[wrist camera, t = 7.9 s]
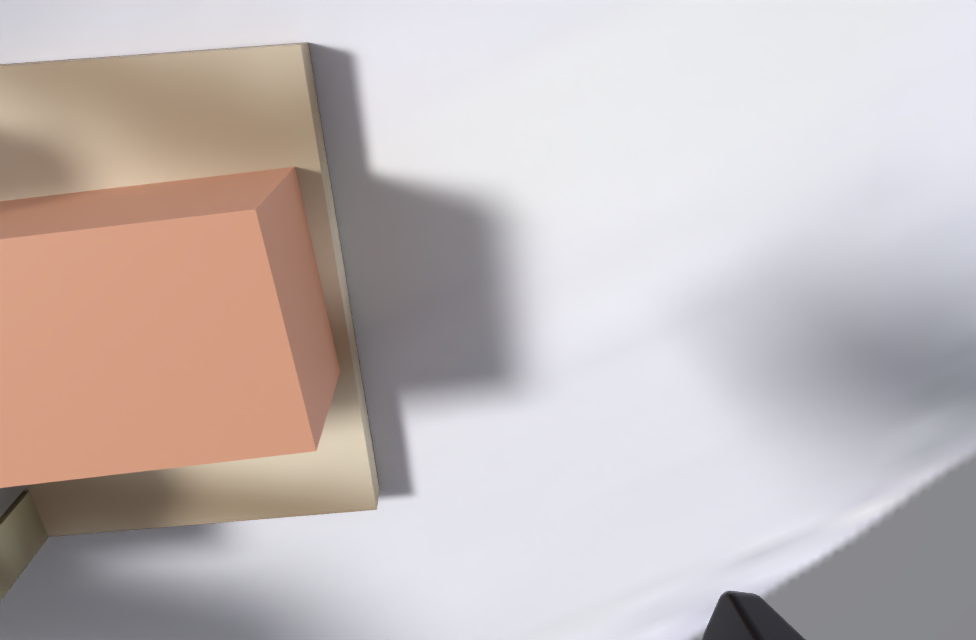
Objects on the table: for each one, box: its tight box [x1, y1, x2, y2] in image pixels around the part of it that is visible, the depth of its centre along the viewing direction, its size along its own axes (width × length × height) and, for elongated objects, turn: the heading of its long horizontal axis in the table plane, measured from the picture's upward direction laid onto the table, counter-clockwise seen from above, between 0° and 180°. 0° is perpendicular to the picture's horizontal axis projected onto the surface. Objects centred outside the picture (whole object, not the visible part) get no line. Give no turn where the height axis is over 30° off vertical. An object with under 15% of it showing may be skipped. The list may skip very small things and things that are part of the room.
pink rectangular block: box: [0, 167, 340, 488], centre depth 18 cm, size 6×9×4 cm, turn 96°
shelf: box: [0, 42, 379, 601], centre depth 18 cm, size 14×17×6 cm
